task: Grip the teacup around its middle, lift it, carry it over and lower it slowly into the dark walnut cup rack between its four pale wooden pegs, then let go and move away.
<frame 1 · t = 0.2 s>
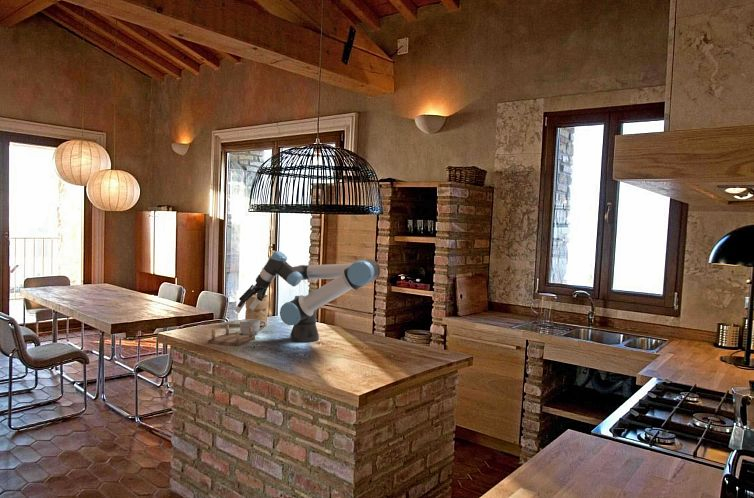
hand: (244, 310, 287), 15 cm above the countertop, tool tilted 35°, fingers open, 13 cm apart
container: (256, 326, 325), on the countertop
teacup: (252, 335, 300), on the countertop
rack: (232, 341, 283), on the countertop
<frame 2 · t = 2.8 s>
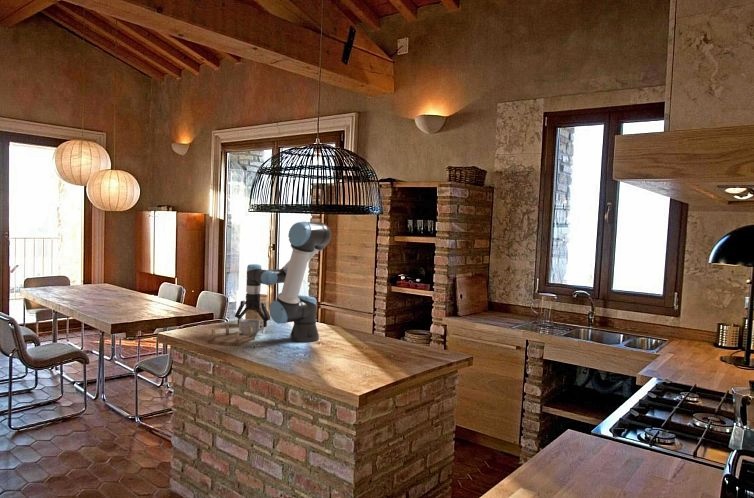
hand: (251, 331, 300), 2 cm above the countertop, tool pointing down, fingers open, 13 cm apart
nothing on the countertop moved.
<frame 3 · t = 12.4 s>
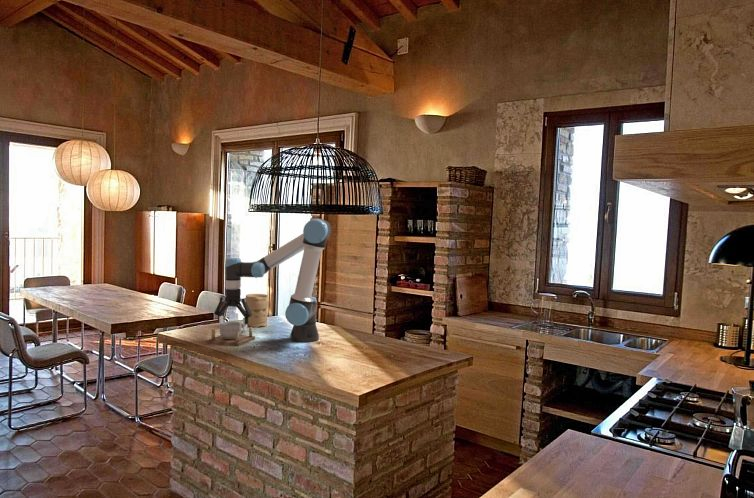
hand: (232, 329, 283), 6 cm above the countertop, tool pointing down, fingers open, 13 cm apart
teacup: (233, 338, 283), point 1 cm above the countertop, touching gripper, rack
everything else where it was.
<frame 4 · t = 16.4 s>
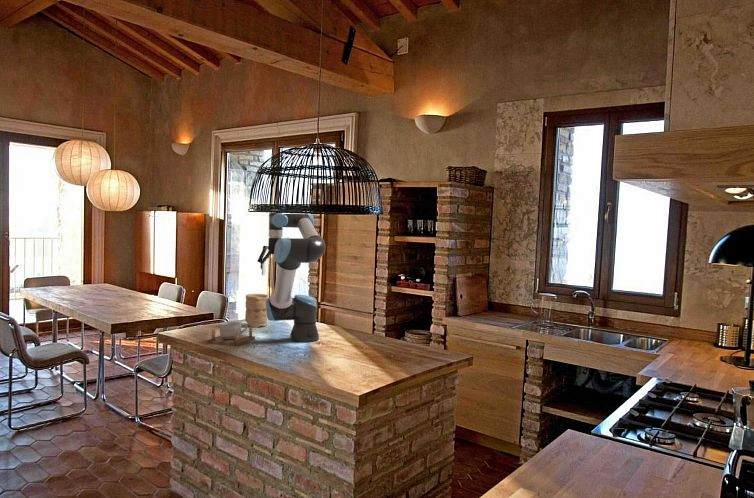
hand: (274, 275, 305), 32 cm above the countertop, tool pointing down, fingers open, 13 cm apart
teacup: (233, 338, 283), point 1 cm above the countertop, touching rack
everything else where it was.
at the end: teacup 0.6 cm off-centre on the rack, point 1.3 cm above the rack's base; teacup tilted 0°; the gripper is holding nothing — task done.
